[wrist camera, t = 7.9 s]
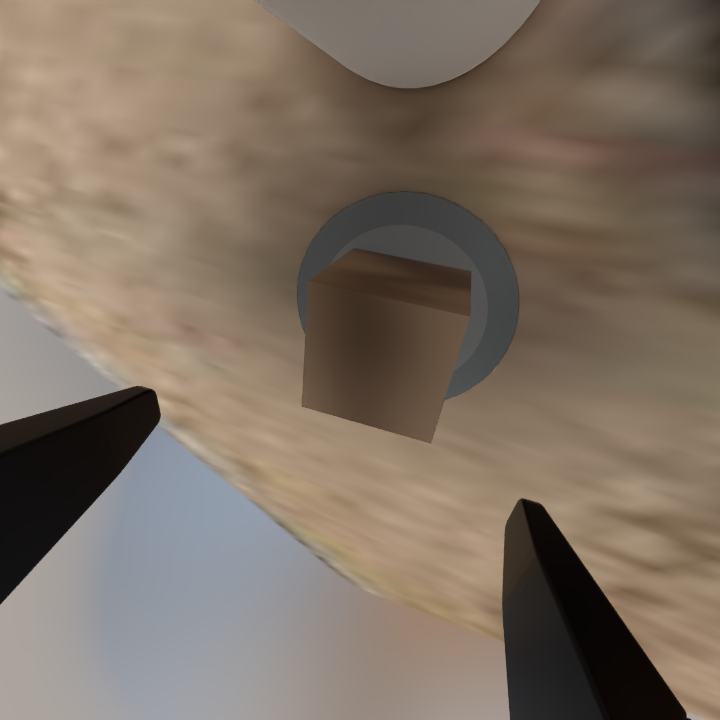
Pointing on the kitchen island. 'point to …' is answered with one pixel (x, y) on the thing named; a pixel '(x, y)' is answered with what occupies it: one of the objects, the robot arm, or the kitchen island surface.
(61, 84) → the kitchen island surface
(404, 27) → the mug
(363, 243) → the slate coaster
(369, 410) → the walnut block
